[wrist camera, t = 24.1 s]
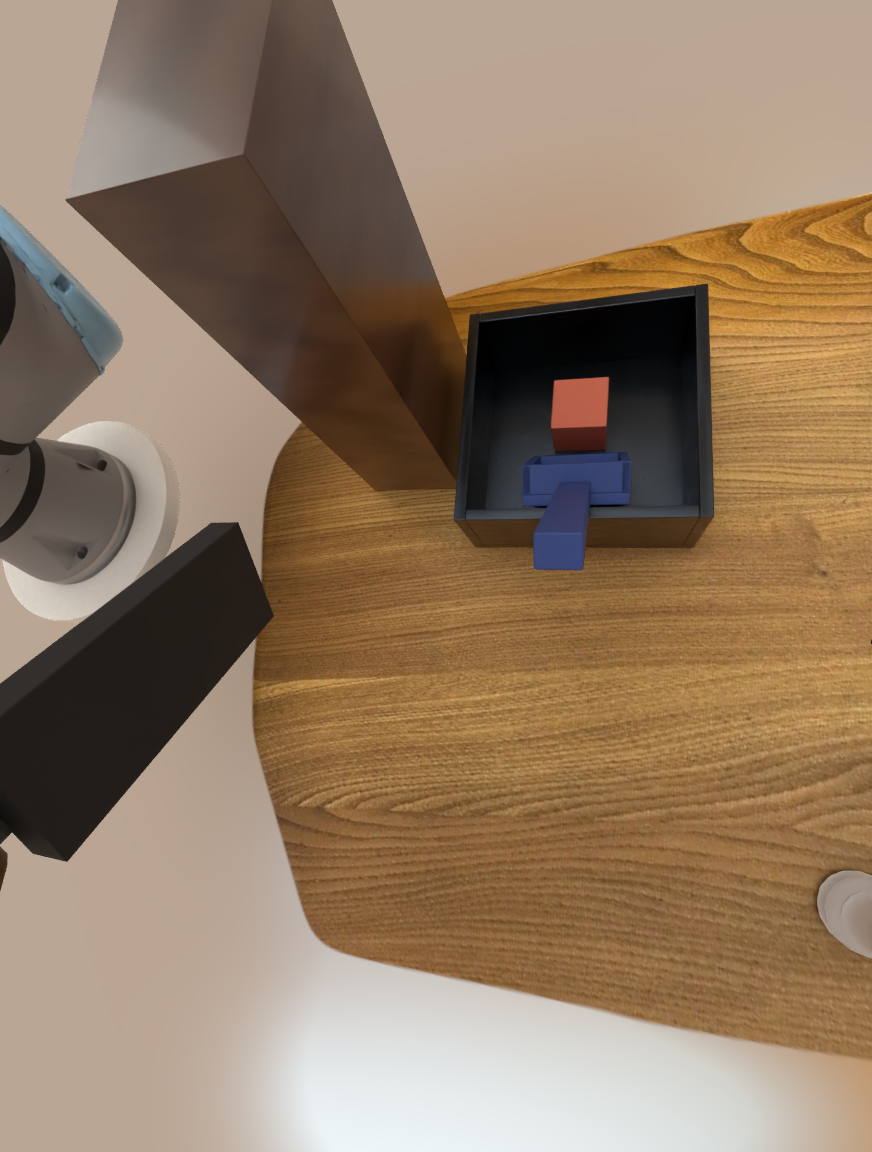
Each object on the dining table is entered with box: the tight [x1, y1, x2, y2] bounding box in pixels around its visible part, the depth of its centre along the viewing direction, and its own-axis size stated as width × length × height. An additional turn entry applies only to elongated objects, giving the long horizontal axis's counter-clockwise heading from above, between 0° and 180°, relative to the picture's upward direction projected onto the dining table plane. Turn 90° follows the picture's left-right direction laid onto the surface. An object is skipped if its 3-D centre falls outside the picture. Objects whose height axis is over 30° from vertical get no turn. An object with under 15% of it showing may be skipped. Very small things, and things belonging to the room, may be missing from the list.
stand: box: [66, 0, 467, 491], centre depth 34 cm, size 8×12×30 cm, turn 175°
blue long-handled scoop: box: [522, 452, 632, 570], centre depth 31 cm, size 7×22×3 cm
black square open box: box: [454, 284, 714, 548], centre depth 40 cm, size 17×17×7 cm
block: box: [551, 377, 609, 451], centre depth 41 cm, size 4×4×4 cm
